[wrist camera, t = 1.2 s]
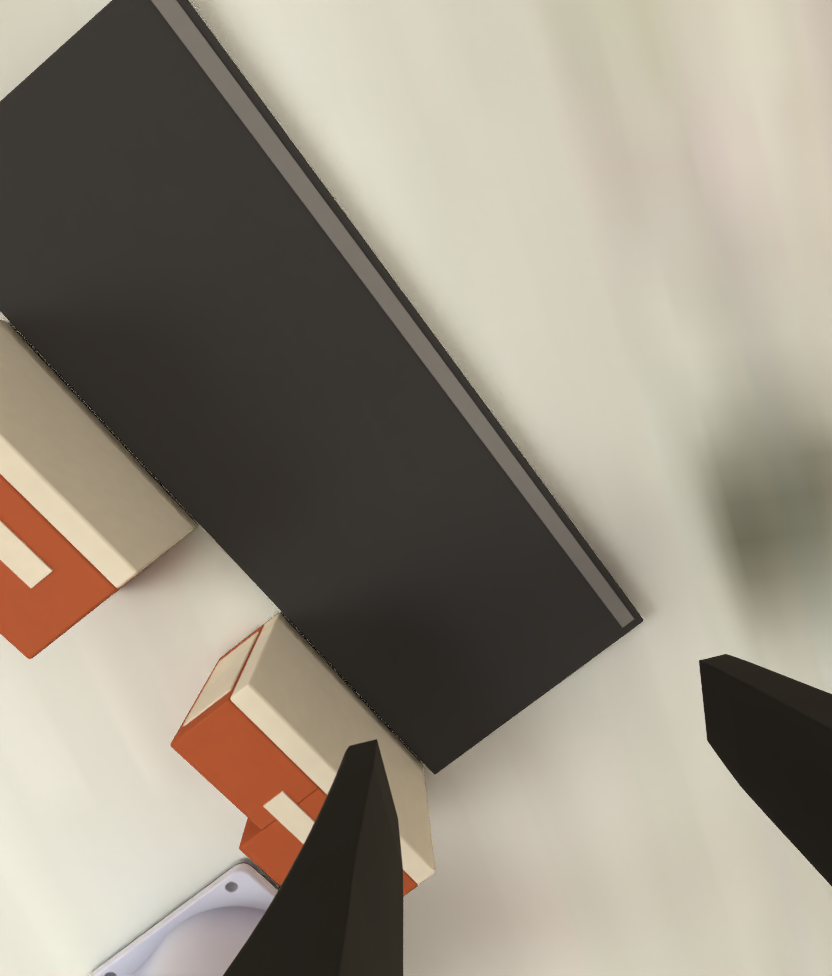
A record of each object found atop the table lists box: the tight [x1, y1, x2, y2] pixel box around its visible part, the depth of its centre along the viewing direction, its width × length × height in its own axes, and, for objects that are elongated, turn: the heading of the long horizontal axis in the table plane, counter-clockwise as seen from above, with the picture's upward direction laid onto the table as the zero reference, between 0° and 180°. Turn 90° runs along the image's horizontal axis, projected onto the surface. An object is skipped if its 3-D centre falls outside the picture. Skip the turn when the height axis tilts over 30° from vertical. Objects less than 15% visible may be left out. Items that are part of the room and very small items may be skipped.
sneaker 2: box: [0, 320, 197, 659], centre depth 16 cm, size 4×10×5 cm, turn 38°
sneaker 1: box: [171, 613, 436, 896], centre depth 19 cm, size 4×10×5 cm, turn 38°
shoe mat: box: [0, 0, 643, 774], centre depth 19 cm, size 11×28×1 cm, turn 38°
